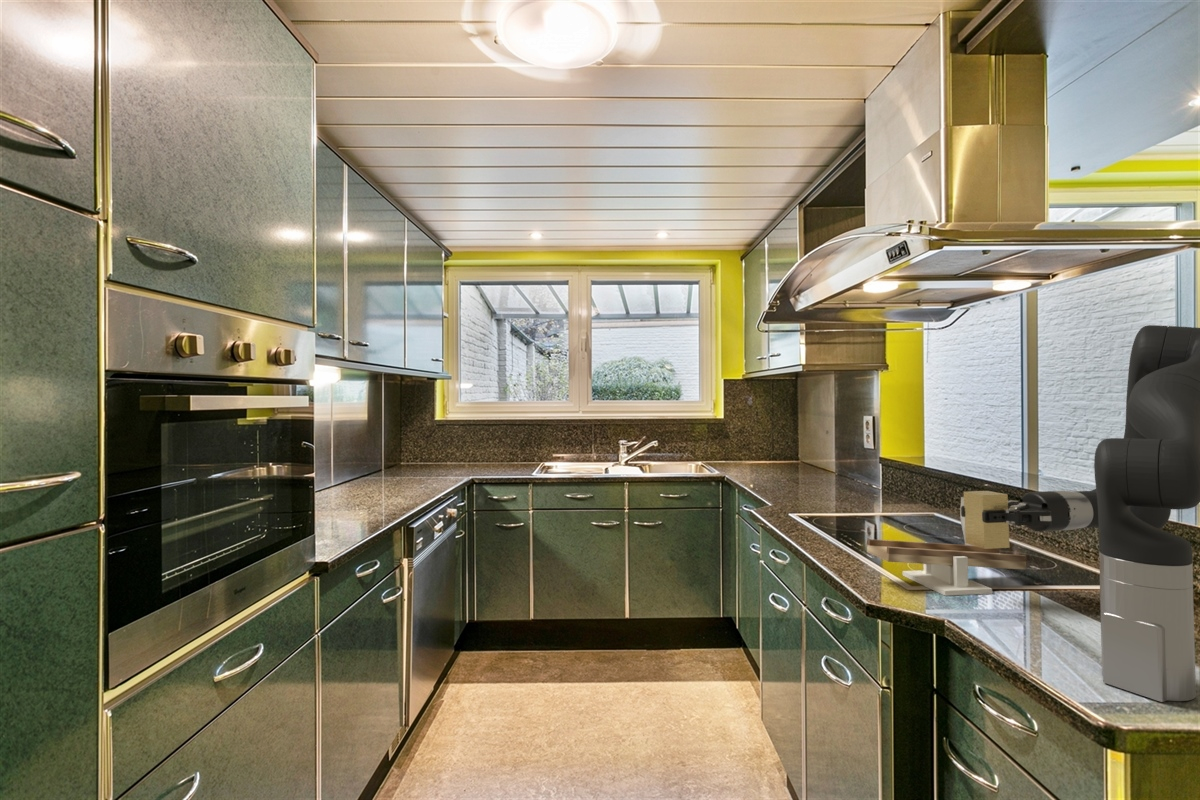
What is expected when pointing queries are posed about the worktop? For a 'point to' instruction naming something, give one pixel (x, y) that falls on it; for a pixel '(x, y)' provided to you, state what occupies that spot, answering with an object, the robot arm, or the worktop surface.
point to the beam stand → (948, 578)
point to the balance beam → (943, 554)
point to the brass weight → (979, 530)
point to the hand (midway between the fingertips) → (973, 514)
